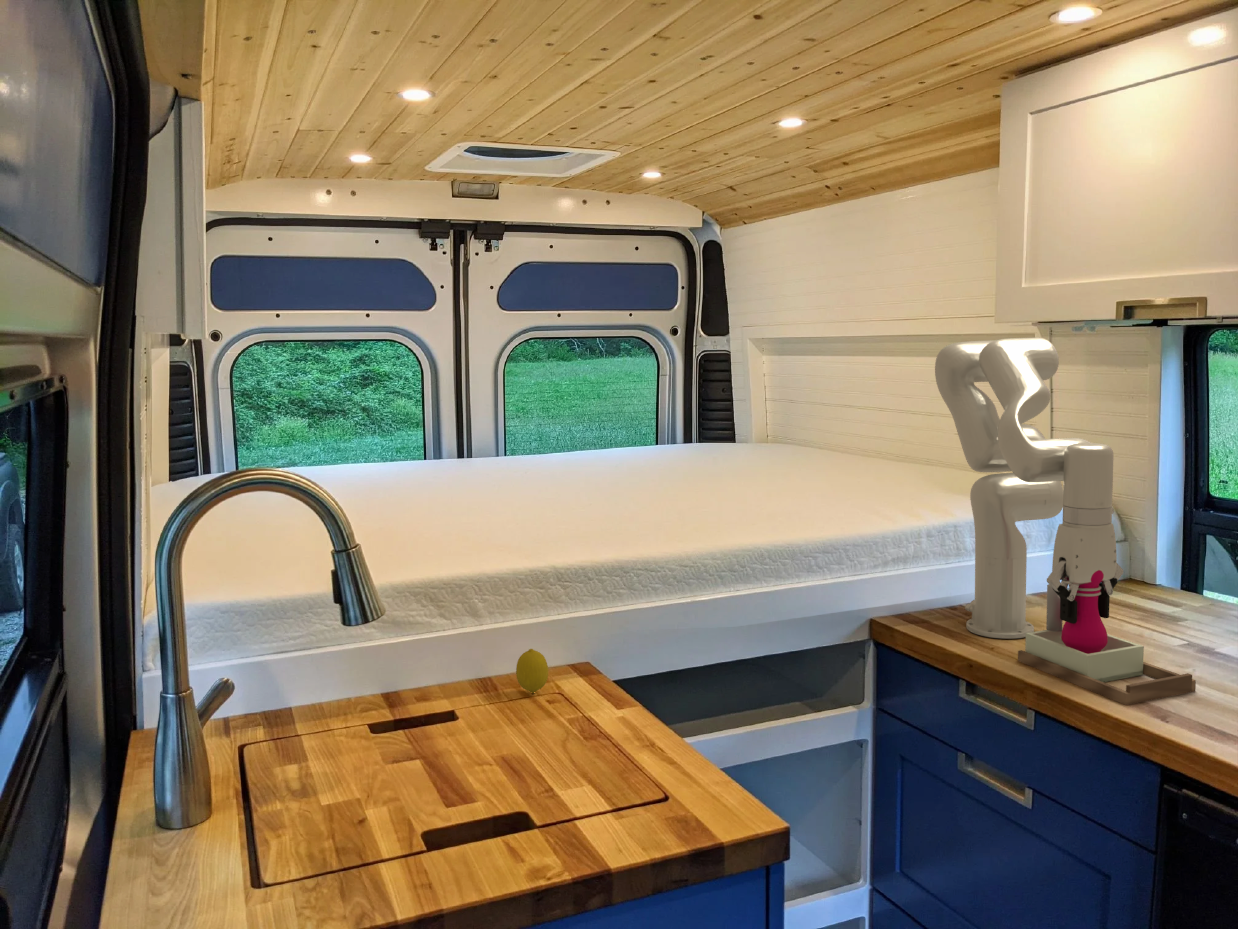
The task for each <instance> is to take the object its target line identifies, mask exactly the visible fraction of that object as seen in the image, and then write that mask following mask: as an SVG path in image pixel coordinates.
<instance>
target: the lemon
mask: <svg viewBox="0 0 1238 929" xmlns="http://www.w3.org/2000/svg"><path fill="white" fill-rule="evenodd" d="M515 670H516V671H515V673H516V674H515V675H516V679H517V683H518V684H519V686H520V687H521V688H522V689H523V690H525V691H528V692H529V693H531V692H532V693H534V692H536V691H537V692H538V691H539V690H541V689H542V688H543V687H544V686H545V685H546V684H547V682H548V678H549V665H548V662H547V659H546V657H545V655H543V653H541V652H539V651H538V650H535V649H533V648H530V649H529V648H528V650H527V651H525V652H523V653H522V654H521V655H520V656H519V657H518V660H517V663H516V669H515ZM537 692H536V693H537ZM532 693H531V694H532ZM534 694H535V693H534Z"/></svg>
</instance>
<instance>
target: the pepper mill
mask: <svg viewBox="0 0 1238 929" xmlns="http://www.w3.org/2000/svg"><path fill="white" fill-rule="evenodd" d="M1103 578H1104V574H1103V572H1102V571H1101V570H1098V571H1096V572H1094V574H1093V575H1092V577H1091V582H1090V583H1087V584H1079V587H1078V590H1077V593H1076V596H1075V598H1074V600H1076V601H1077V622H1076V623H1074V624H1072V623H1069V622H1066V621H1064V624H1063V625H1062V627H1063V629H1062V636H1061V638H1062V641H1063V643H1064V644H1065V645H1066V646H1067V647H1070V648H1073V649H1075V650H1078V651H1081V652H1084V653H1086V654H1090V653H1096V652H1101V650H1102V649H1103V648H1104V647H1105V646H1106V645H1107V642H1108V637H1107V634H1108V632H1107V629H1106V627H1105V624H1104V622H1103V621H1102V617H1100V615H1099V611H1098V596H1099V595H1101V592H1100V589H1101V587H1100V586H1099V584H1100V582H1101V581H1102V580H1103ZM1070 586H1071V585H1068V589H1070Z"/></svg>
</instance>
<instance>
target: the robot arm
mask: <svg viewBox="0 0 1238 929" xmlns="http://www.w3.org/2000/svg"><path fill="white" fill-rule="evenodd" d="M1058 353H1059V352H1058V351H1057V349H1056V347H1055V345H1054V344H1053V343H1052V342H1051V341H1049V339H1047V338H1044V337H1015V338H1014V337H1012V338H1010V337H1009V338H1001V339H994V340H969V341H960V342H953V343H951V344H948V345H946V346H944V347H943V348H942V349H940V351H939V352H938V354H937V355H936V359H935V363H934V364H935V365H934V377H935V382H936V385H937V389H938V392H939V394H940V396H941V398H942V400H943V401H944V404H946V406H947V408H948V411H949V412H950V414H951V416H952V419H953V422H954V425H955V429H956V432H957V437H958V439H959V441H960V445H961V448H962V451H963V454H964V457H965V460H966V462H967V464H968V466H969V467H970V469H972V470H973V471H974V472H979V473H994V474H987V475H983V476H982V477H980V478H978V479H977V480H975V482H974V483H973V484H972V486H971V488H970V497H969V498H970V499H969V500H970V505H971V510H972V516H973V524H974V541H975V542H974V544H975V545H974V551H975V552H974V554H975V555H974V599H973V600H972V601H971V602H970V603H967V604H966V605H965V607H964V610H966V611H968V612H971V618H970V619H968V620H967V621H966V622H965V623H966V630H968V631H969V632H971V633H973V634H975V635H978V636H981V637H986V638H991V639H1007V640H1011V639H1013V640H1014V639H1023V638H1024V639H1025V638H1026V633H1030V632H1035V627H1034V625H1033V624H1032V623H1031V622H1029V621H1027V619H1026V618H1027V617H1026V614H1027V613H1026V612H1027V610H1026V609H1027V560H1028V556H1027V554H1028V553H1027V550H1028V549H1027V543H1026V539H1025V537H1024V535H1023V534H1022V533H1021V531H1020V530H1019V529H1018V526H1017V525H1016V522H1017V523H1018V522H1022V521H1037V520H1038V521H1039V520H1048V519H1052V518H1055V517H1056V516H1058V515H1059V514H1060V513H1061V511H1062V523H1059V524H1058V527H1057V530H1056V535H1055V540H1054V545H1053V553H1052V563H1051V564H1052V568H1051V572H1050V573H1049V575H1048V576H1047V578H1046V582H1047V585H1048V584H1049V585H1050V586H1051V587H1052V588H1053V590H1054V591H1055V592H1056V593H1057V596H1058V597H1059V598H1060V619H1061V620H1062V622H1063V621H1064V622H1069V623H1072V624H1074V623H1076V622H1077V601H1076V600H1074V598H1075V596H1076V593H1077V590H1078V587H1079V584H1087V583H1090V582H1091V577H1092V575H1093V574H1094V572H1096V571H1098V570H1101V571H1102V572H1103V574H1104V578H1103V580H1102V581H1101V582H1100V584H1099V586H1100V587H1101V589H1100V592H1101V595H1099V596H1098V611H1099V615H1100V618H1101V619H1109V618H1110V600H1111V597H1110V596H1112V595H1113V593H1114V590H1113V589H1114V588H1115V587H1116V585H1118V581H1119V580H1120V578H1121V577H1122V576H1123V574H1124V571H1125V570H1124V569H1123V568H1122V567H1121V566H1120V564H1119V563H1118V562H1117V559H1118V558H1117V555H1118V553H1117V540H1116V533H1115V532H1116V531H1115V528H1114V523H1112V522H1113V521H1112V519H1113V514H1114V512H1115V510H1114V508H1113V489H1114V488H1113V487H1114V486H1113V483H1114V481H1113V480H1114V451H1113V448H1112V447H1111V446H1109V444H1105V443H1098V442H1096V443H1095V442H1090V441H1089V440H1087V439H1085V438H1081V437H1066V438H1064V437H1063V438H1058V437H1057V438H1056V437H1055V438H1046V437H1045V436H1044V434H1043V433H1042V432H1041V431H1040V430H1039V428H1037V427H1035V426H1033V425H1031V424H1025V423H1026V422H1028V421H1030V420H1032V419H1034V418H1036V417H1037V416H1038V415H1040V414H1041V413H1042V412H1044V410H1046V409H1047V407H1048V405H1049V403H1050V401H1051V396H1052V394H1051V392H1050V389H1049V387H1048V386H1047V384H1046V383H1045V381H1047V380H1050V379H1051V378H1053V377H1054V376H1055V374H1056V373H1057V371H1058V368H1059V365H1060V356H1059V354H1058ZM975 383H988V384H989V386H990V387H991V389H992V391H993V393H994V394H995V396H996V398H997V400H998V401H999V403H1000V405H1001V407H1002V408H1003V410H1004V411H1003V412H1002V414H1001V417H999V414H998V410H997V407H996V405H995V403H994V401H993V400H992V399H991V398H990V396H989V395H987V394H986V393H985V392H984V391H983V390H982V389H980V388H979V387H977V386H976V384H975ZM1003 472H1006V473H1003ZM1062 482H1063V484H1062ZM1069 585H1071V586H1070V588H1069ZM1068 589H1069V590H1068Z"/></svg>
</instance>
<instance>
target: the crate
mask: <svg viewBox="0 0 1238 929" xmlns="http://www.w3.org/2000/svg"><path fill="white" fill-rule="evenodd" d="M1046 586H1047V587H1046V621H1045V622H1046V628H1045V629H1043V630H1039V631H1038V630H1037V631H1034V632H1030V633H1026V637H1025V650H1024V651H1025V652H1027V653H1030V654H1033V655H1035V656H1038V657H1040V658H1043V659H1045V660H1048V661H1050V662H1053V663H1055V664H1058V665H1061V666H1063V667H1066V668H1068V669H1071V670H1073V671H1076V672H1078V673H1081V674H1083V675H1086V676H1088V677H1091V678H1094V679H1096V680H1099V681H1101V682H1104V683H1107V682H1113V681H1118V680H1123V679H1129V678H1133V677H1140V676H1144V674H1143V662H1144V651H1145V649H1144V648H1145V646H1144V645H1142V644H1139V643H1135V642H1133V641H1130V640H1126V639H1123V638H1120V637H1117V636H1114V635H1112V634H1108V633H1107V637H1108V642H1107V645H1106V646H1105V647H1104V648H1103V649H1102V650H1101V652H1096V653H1090V654H1086V653H1084V652H1081V651H1078V650H1075V649H1073V648H1070V647H1067V646H1066V645H1065V644H1064V643H1063V641H1062V638H1061V636H1062V629H1063V620H1061V619H1060V598H1059V597H1058V596H1057V593H1056V592H1055V591H1054V590H1053V588H1052V587H1051V586H1050V585H1049V584H1048V583H1047V585H1046Z"/></svg>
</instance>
